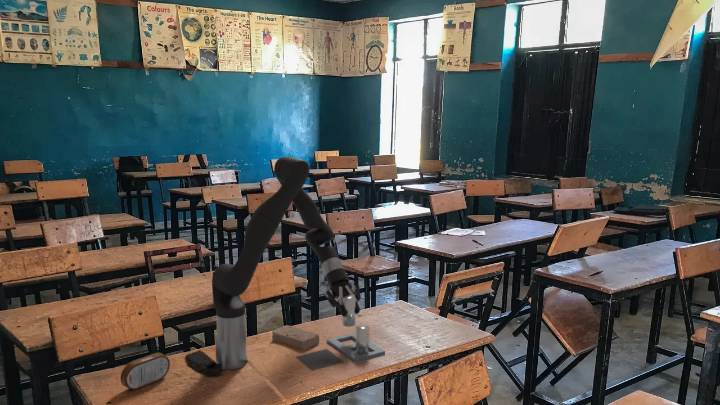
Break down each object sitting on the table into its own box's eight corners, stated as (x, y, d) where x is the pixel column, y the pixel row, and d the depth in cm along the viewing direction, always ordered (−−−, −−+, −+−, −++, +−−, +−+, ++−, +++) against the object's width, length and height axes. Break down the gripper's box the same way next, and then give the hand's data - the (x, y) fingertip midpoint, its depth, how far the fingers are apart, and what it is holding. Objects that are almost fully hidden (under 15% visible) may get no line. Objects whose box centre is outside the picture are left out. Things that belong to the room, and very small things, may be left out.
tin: (166, 373, 170) (165, 348, 168) (172, 376, 168) (170, 350, 167) (120, 391, 158) (118, 364, 157) (126, 395, 156) (124, 367, 155)
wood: (177, 358, 182) (177, 349, 181) (198, 352, 186) (198, 344, 186) (204, 383, 165) (204, 373, 164) (226, 376, 169) (226, 367, 169)
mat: (311, 373, 170) (311, 370, 170) (295, 359, 180) (295, 356, 180) (344, 364, 177) (344, 361, 176) (326, 351, 187) (326, 348, 186)
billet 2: (360, 359, 181) (360, 330, 179) (353, 354, 184) (353, 326, 183) (371, 356, 183) (372, 328, 182) (364, 351, 187) (364, 323, 186)
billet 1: (346, 327, 187) (346, 300, 186) (340, 323, 191) (340, 296, 189) (357, 325, 189) (357, 297, 188) (351, 320, 193) (351, 294, 192)
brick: (270, 342, 195) (270, 329, 194) (287, 334, 202) (286, 323, 201) (304, 354, 185) (304, 341, 185) (320, 346, 192) (320, 333, 191)
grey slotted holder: (355, 364, 176) (355, 359, 176) (327, 344, 192) (327, 339, 192) (384, 356, 183) (385, 351, 183) (355, 337, 199) (355, 332, 198)
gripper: (320, 270, 190) (337, 313, 182) (355, 264, 197) (373, 305, 189) (314, 281, 195) (330, 323, 187) (347, 275, 203) (364, 315, 194)
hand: (351, 314), depth 188 cm, fingers closed on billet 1, 4 cm apart
